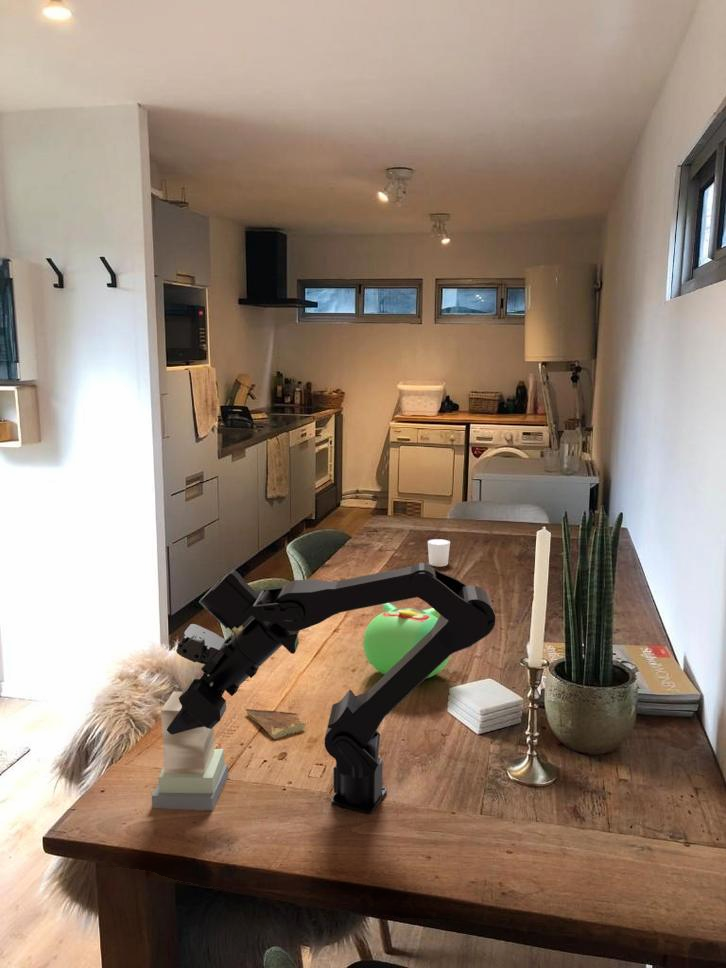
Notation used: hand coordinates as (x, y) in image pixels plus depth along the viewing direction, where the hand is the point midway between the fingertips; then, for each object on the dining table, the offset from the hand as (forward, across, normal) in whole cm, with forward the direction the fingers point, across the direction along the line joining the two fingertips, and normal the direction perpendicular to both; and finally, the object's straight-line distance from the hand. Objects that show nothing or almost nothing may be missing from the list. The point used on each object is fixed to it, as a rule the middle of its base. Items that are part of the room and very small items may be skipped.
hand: (178, 716), depth 114 cm
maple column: (+5, 0, +6) cm, 8 cm away
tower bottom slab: (+8, 0, +10) cm, 13 cm away
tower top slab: (+6, 0, +8) cm, 10 cm away
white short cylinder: (-21, -122, +38) cm, 130 cm away
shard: (+2, -20, +16) cm, 26 cm away
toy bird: (-15, -43, +33) cm, 56 cm away
